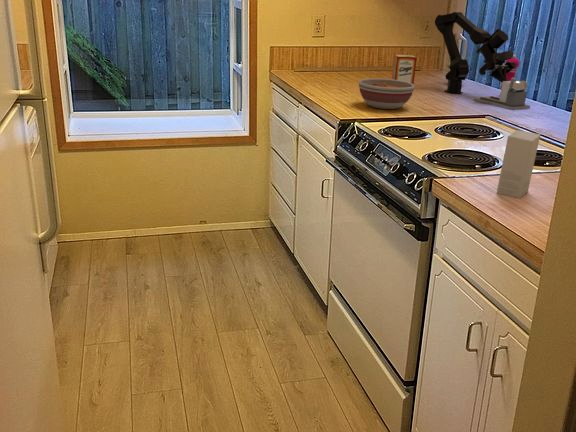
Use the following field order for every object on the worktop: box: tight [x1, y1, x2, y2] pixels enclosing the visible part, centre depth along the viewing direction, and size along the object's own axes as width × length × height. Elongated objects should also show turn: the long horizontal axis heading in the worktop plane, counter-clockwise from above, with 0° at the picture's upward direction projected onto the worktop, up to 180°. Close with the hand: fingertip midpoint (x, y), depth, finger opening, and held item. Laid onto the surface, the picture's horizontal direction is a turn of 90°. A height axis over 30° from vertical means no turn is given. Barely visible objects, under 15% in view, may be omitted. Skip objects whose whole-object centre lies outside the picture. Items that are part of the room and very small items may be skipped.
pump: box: [499, 77, 517, 103], centre depth 275 cm, size 4×6×11 cm
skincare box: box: [496, 129, 541, 199], centre depth 159 cm, size 8×7×16 cm
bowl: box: [358, 78, 415, 110], centre depth 258 cm, size 23×23×10 cm
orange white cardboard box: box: [391, 54, 418, 85], centre depth 303 cm, size 10×6×16 cm
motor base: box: [472, 80, 531, 111], centre depth 278 cm, size 22×12×12 cm, turn 32°
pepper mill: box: [499, 54, 520, 95], centre depth 295 cm, size 7×7×20 cm
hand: (505, 83), depth 276 cm, fingers closed, pressing on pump
